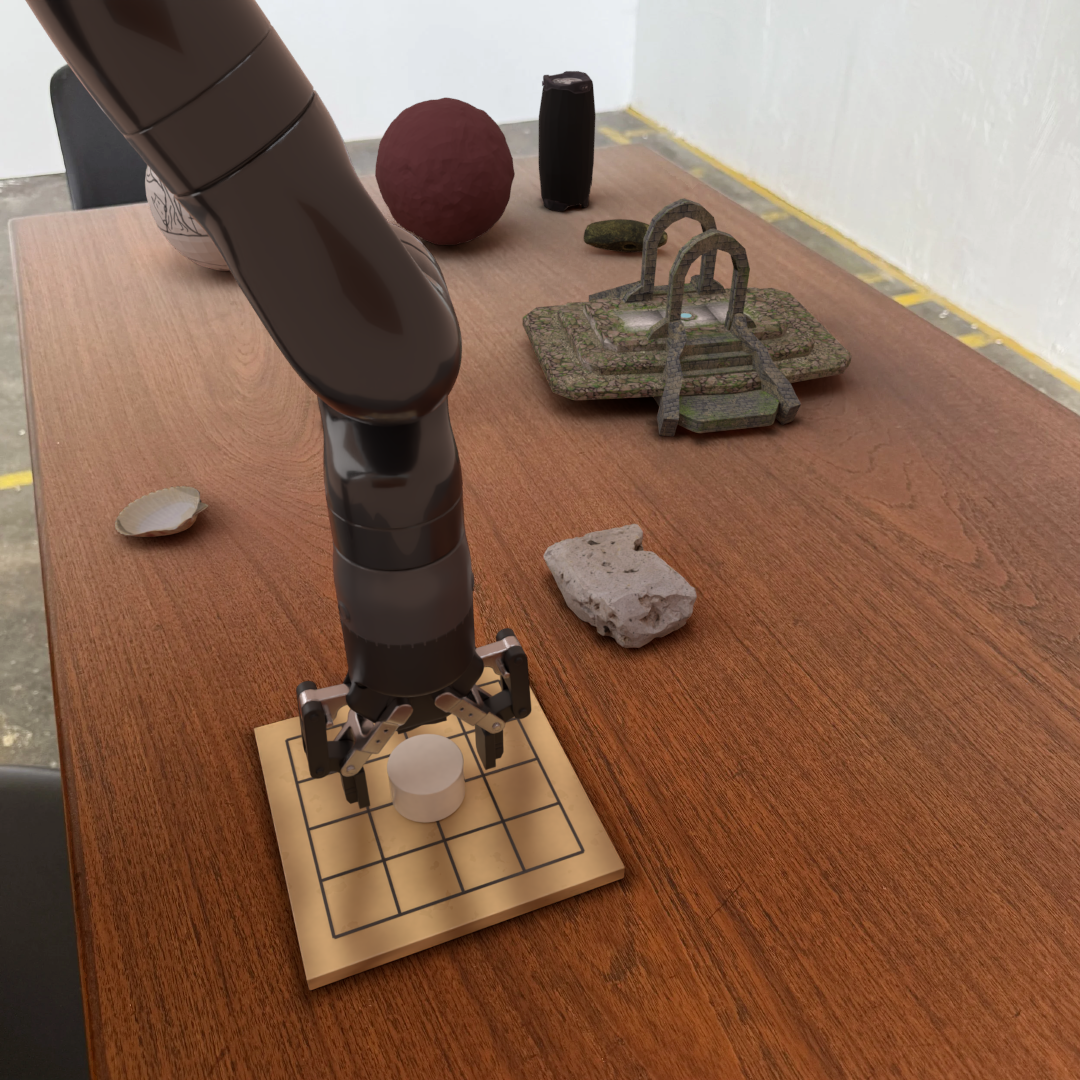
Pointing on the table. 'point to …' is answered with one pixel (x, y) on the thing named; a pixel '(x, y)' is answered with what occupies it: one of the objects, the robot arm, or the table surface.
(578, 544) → the stone
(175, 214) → the ball
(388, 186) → the decorative sphere
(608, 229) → the decorative stone
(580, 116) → the portable speaker
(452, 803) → the white cylinder
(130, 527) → the seashell
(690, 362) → the archway
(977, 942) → the table surface
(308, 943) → the grid board
